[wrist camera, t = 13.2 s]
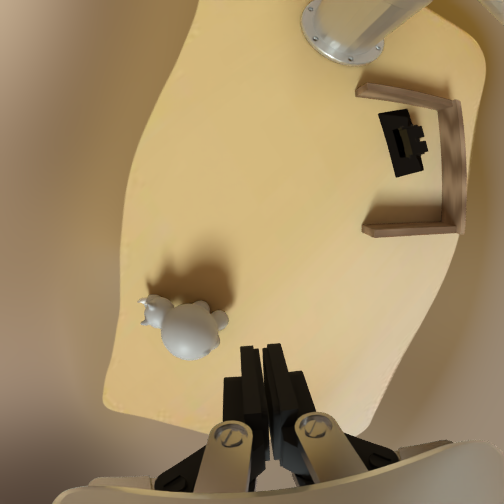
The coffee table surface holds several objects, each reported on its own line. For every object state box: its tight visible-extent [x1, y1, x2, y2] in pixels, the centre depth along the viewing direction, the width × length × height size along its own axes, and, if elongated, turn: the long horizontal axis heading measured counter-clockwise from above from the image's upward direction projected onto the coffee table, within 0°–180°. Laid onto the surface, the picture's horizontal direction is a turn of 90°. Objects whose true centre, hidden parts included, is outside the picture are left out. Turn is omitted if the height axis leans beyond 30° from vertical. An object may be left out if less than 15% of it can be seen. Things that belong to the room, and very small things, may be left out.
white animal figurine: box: [138, 295, 229, 360], centre depth 36 cm, size 7×12×8 cm, turn 64°
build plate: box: [378, 109, 428, 177], centre depth 34 cm, size 12×7×5 cm, turn 18°
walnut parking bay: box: [355, 83, 467, 238], centre depth 34 cm, size 20×16×5 cm
